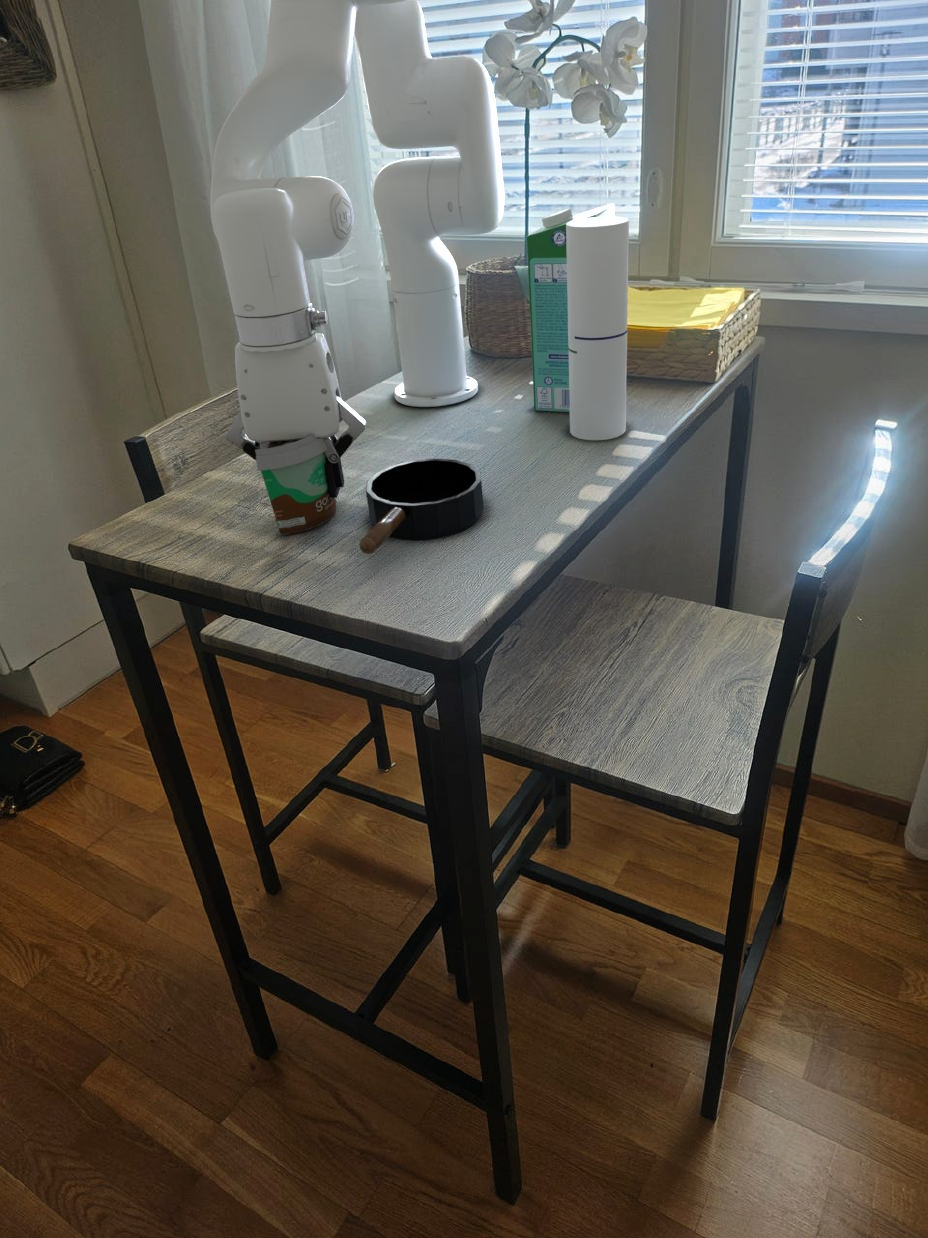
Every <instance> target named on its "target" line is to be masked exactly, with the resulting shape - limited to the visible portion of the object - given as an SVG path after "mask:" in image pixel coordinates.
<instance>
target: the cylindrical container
mask: <svg viewBox="0 0 928 1238" xmlns="http://www.w3.org/2000/svg"><path fill="white" fill-rule="evenodd" d="M629 241H630V219H629V218H628V217H625V216H616V215H614V216H603V217H590V218H582V219H577V220H572V221H569V222H567V223H566V244H567V298H568V347H569V400H570V412H569V433H570V434H571V436H573V437H575V438H577V439H579V440H585V441H606V440H607V441H608V440H611V439H616V438H618V437H620V436H622V435H624V434H625V432H626V430H627V376H628V375H627V369H628V368H627V365H628V364H627V363H628V362H627V361H628V358H627V357H628V314H629V313H628V312H629V311H628V307H629V305H628V304H629V302H628V301H629V248H630V247H629V243H630V242H629Z"/></svg>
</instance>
